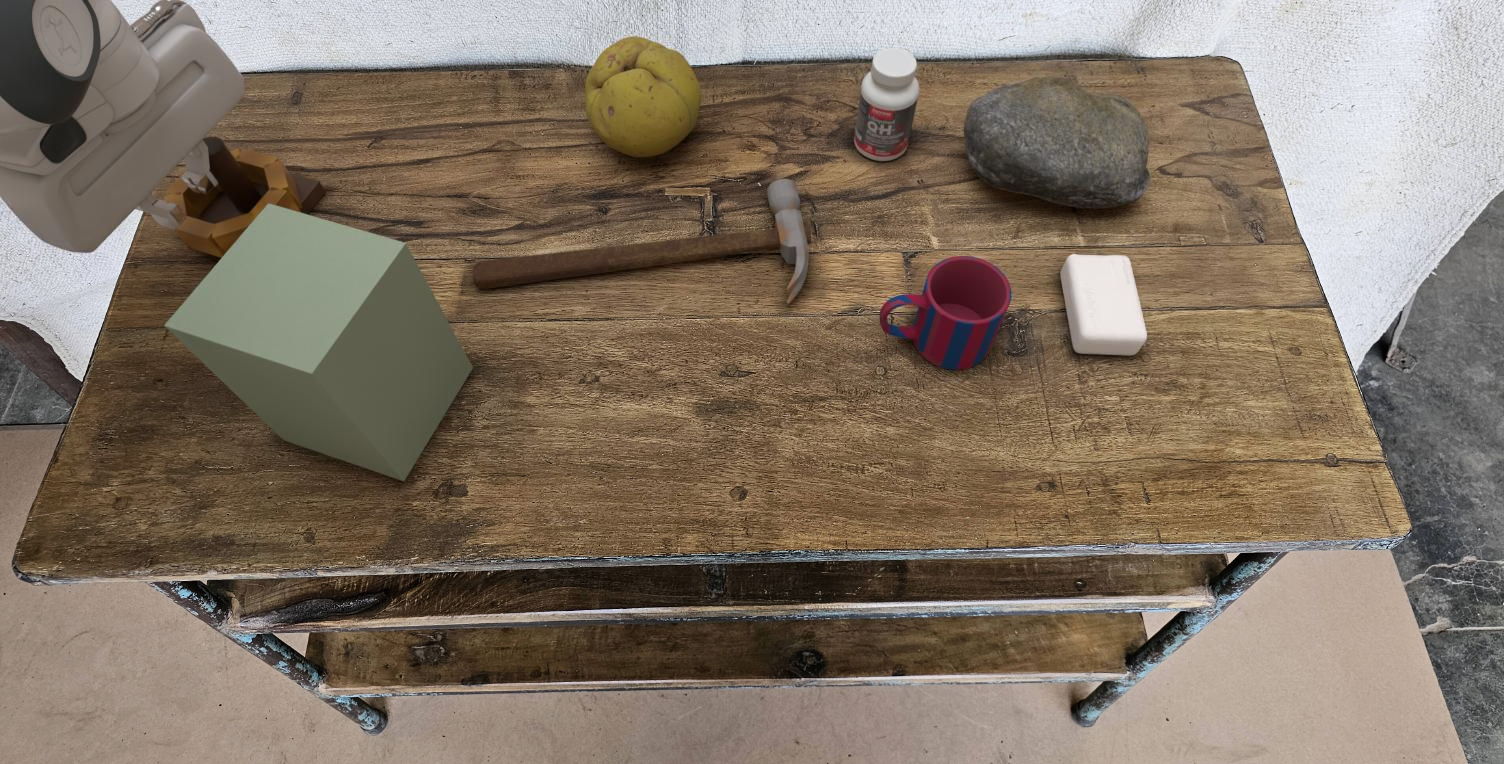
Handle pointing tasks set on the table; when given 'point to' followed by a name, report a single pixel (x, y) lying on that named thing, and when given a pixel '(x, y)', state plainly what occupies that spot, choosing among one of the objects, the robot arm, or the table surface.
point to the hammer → (666, 250)
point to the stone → (1058, 143)
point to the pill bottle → (887, 105)
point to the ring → (227, 232)
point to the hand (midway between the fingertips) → (191, 205)
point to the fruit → (642, 97)
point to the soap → (1102, 305)
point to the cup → (954, 312)
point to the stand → (245, 187)
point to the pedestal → (328, 339)
